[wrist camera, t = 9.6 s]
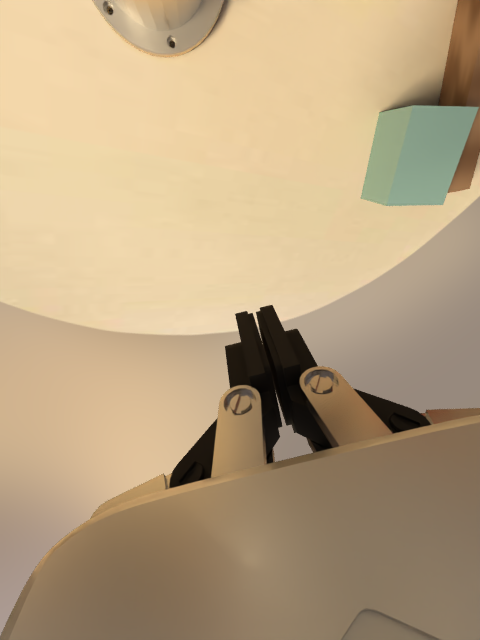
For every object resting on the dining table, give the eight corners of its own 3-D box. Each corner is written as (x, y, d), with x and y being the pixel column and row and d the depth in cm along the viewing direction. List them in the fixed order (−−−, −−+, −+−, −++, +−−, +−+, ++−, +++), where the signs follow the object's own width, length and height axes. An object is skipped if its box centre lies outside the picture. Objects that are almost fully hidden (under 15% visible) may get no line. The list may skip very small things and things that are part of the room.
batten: (466, -44, 25) (507, -74, 22) (497, -50, 25) (542, -80, 22) (422, 189, 36) (445, 193, 33) (444, 185, 36) (469, 188, 33)
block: (378, 112, 31) (413, 105, 26) (434, 113, 32) (478, 106, 27) (360, 198, 36) (386, 205, 31) (409, 197, 37) (442, 204, 32)
